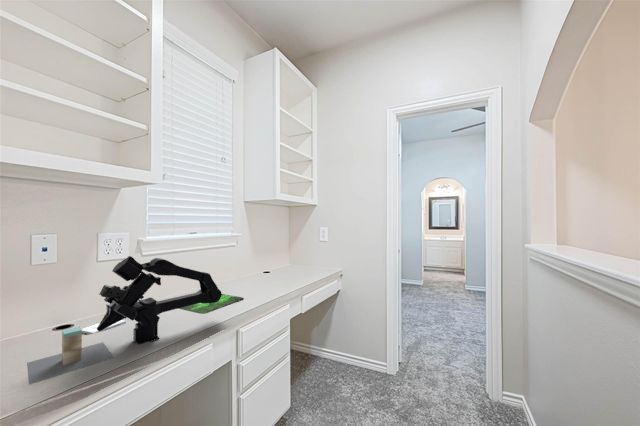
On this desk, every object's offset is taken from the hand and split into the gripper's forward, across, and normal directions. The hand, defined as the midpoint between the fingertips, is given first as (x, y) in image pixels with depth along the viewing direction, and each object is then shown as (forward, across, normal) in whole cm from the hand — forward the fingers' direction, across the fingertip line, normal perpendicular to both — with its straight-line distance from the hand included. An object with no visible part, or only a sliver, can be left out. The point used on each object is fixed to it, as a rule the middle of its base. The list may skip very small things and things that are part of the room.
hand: (98, 330), depth 88 cm
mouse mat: (-29, -24, +41) cm, 56 cm away
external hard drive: (+2, -26, +10) cm, 28 cm away
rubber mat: (+10, 0, +1) cm, 10 cm away
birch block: (+10, 0, 0) cm, 10 cm away
